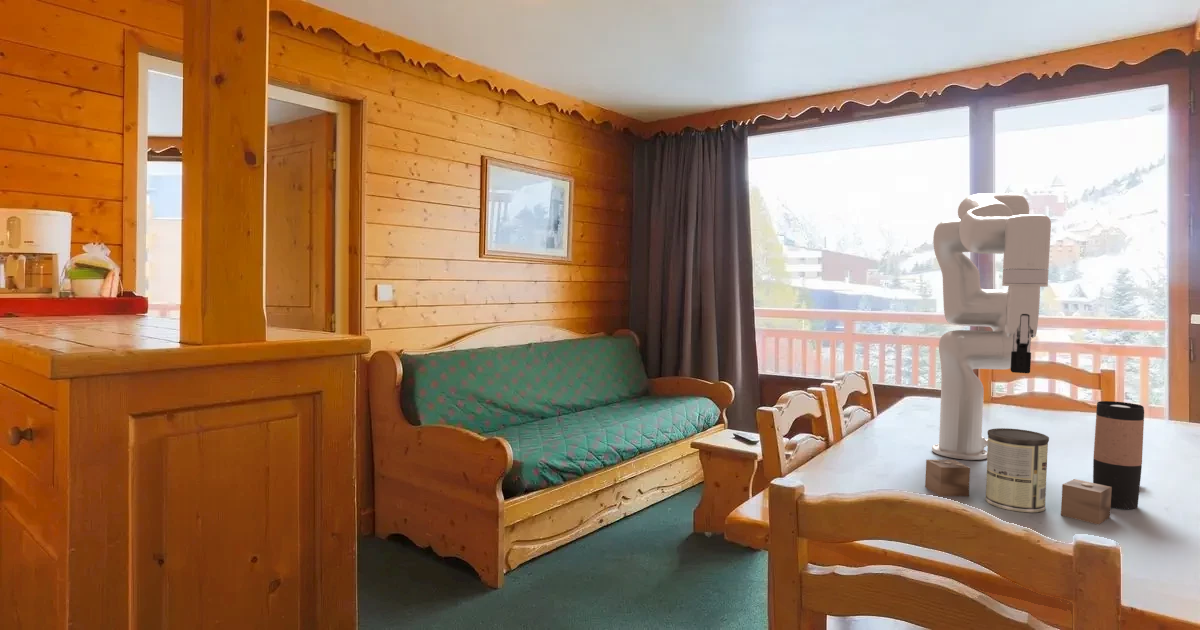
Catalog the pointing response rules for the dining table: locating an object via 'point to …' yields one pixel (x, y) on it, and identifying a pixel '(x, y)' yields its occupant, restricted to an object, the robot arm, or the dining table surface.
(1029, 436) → the coffee can
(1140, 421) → the travel mug
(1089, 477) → the dining table surface
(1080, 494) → the one-pip block
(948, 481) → the three-pip block
